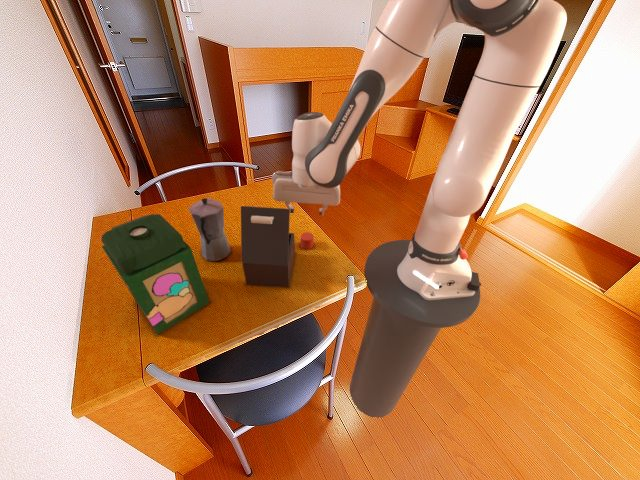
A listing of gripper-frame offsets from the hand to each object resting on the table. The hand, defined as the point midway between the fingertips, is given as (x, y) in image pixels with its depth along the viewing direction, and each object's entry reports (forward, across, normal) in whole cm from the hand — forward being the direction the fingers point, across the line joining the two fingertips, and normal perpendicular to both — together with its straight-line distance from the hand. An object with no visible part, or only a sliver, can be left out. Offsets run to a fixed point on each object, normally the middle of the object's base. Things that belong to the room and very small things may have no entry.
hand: (306, 213), depth 87 cm
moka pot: (+14, -28, -7) cm, 32 cm away
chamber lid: (-3, -10, -16) cm, 19 cm away
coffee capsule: (+13, +1, 0) cm, 13 cm away
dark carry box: (+13, -10, -12) cm, 20 cm away
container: (+14, -33, -27) cm, 45 cm away
